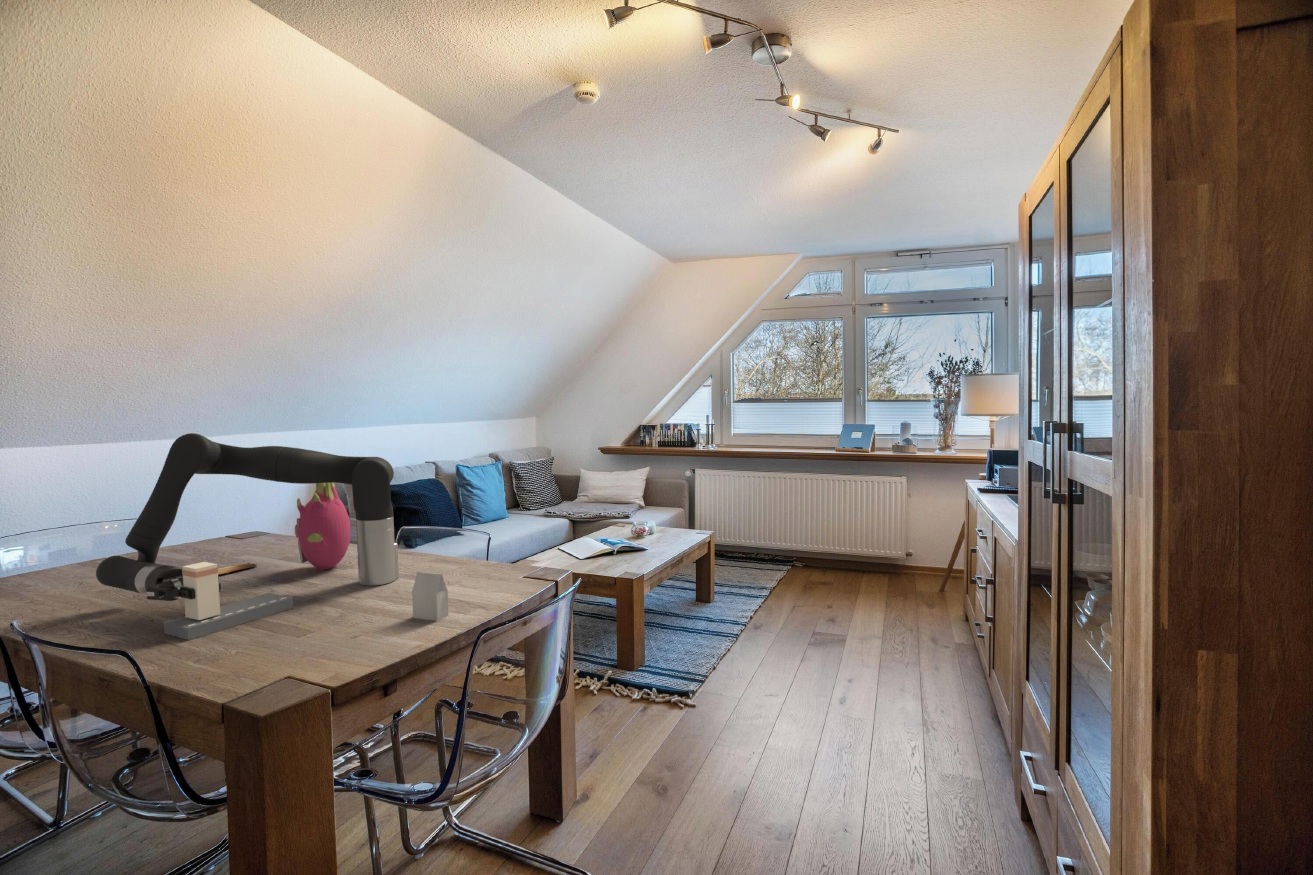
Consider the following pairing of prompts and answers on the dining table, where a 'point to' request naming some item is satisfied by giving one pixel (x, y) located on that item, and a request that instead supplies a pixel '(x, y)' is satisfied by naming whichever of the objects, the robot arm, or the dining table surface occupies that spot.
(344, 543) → the pink dragon fruit
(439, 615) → the grey milk carton
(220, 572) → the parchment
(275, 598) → the toy road segment
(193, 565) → the cream block
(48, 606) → the dining table surface
